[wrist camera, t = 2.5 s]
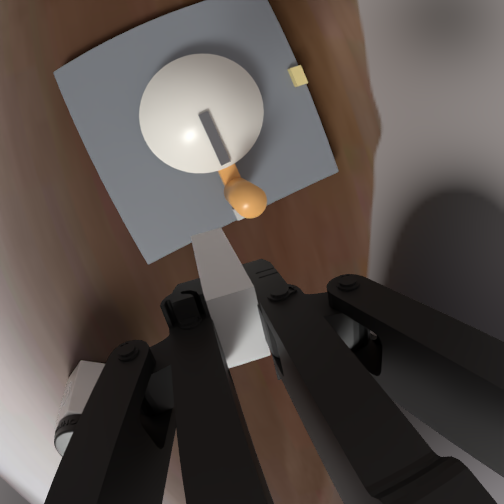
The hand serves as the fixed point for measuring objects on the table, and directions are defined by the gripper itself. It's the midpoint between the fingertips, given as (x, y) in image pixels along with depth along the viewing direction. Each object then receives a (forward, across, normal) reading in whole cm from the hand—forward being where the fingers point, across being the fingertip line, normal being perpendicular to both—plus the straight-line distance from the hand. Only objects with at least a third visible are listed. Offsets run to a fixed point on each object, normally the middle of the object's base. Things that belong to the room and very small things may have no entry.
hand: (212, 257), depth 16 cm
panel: (+18, +3, +8) cm, 20 cm away
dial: (+16, +3, +6) cm, 17 cm away
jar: (+18, -19, -20) cm, 33 cm away
